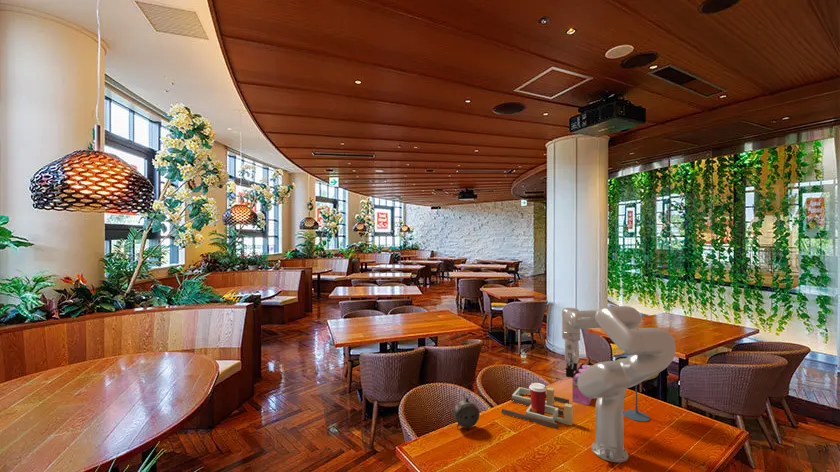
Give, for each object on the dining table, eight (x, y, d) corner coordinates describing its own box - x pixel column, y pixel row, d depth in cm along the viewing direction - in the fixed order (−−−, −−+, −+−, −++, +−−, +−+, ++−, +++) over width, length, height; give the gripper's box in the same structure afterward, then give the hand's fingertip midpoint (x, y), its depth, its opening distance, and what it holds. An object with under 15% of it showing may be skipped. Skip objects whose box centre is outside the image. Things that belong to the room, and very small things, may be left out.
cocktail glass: (666, 428, 154) (665, 371, 155) (620, 422, 160) (619, 367, 160) (651, 409, 172) (651, 358, 172) (610, 405, 177) (610, 354, 177)
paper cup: (548, 414, 167) (547, 384, 168) (544, 421, 161) (544, 390, 161) (531, 410, 171) (531, 381, 172) (527, 416, 165) (527, 386, 165)
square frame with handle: (550, 410, 170) (550, 393, 171) (512, 400, 181) (512, 385, 181) (556, 401, 180) (556, 385, 181) (519, 392, 191) (519, 377, 191)
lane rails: (556, 428, 154) (556, 424, 154) (501, 413, 168) (501, 409, 168) (569, 403, 178) (569, 399, 179) (520, 392, 192) (520, 388, 192)
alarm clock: (476, 424, 158) (476, 387, 158) (481, 430, 153) (480, 392, 153) (453, 427, 155) (453, 390, 156) (456, 433, 150) (456, 395, 150)
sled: (569, 430, 153) (569, 411, 153) (525, 418, 163) (525, 400, 163) (574, 418, 163) (574, 401, 163) (532, 407, 173) (532, 391, 173)
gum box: (582, 386, 200) (582, 362, 200) (597, 389, 195) (597, 365, 195) (572, 401, 181) (571, 375, 181) (588, 406, 176) (588, 378, 176)
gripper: (577, 341, 151) (578, 381, 150) (582, 332, 166) (582, 369, 165) (559, 338, 155) (559, 378, 154) (565, 330, 169) (565, 366, 169)
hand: (571, 373), depth 160 cm, fingers open, 9 cm apart
